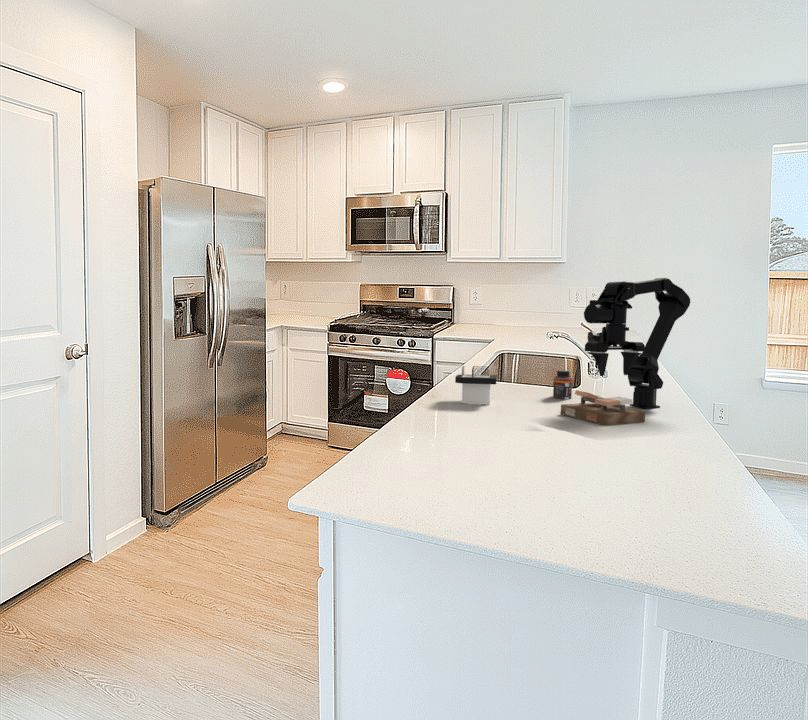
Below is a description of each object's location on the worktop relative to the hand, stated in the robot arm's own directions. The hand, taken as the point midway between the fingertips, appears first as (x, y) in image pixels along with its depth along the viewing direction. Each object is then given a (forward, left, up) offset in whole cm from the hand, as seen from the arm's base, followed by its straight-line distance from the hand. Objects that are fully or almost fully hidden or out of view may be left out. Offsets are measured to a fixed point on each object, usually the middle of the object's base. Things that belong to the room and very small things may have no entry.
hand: (613, 375), depth 178 cm
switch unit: (+8, +4, -12) cm, 15 cm away
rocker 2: (+8, +9, -7) cm, 14 cm away
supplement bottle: (+2, -21, -12) cm, 24 cm away
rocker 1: (+8, 0, -7) cm, 11 cm away
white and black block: (+32, -27, -12) cm, 44 cm away
